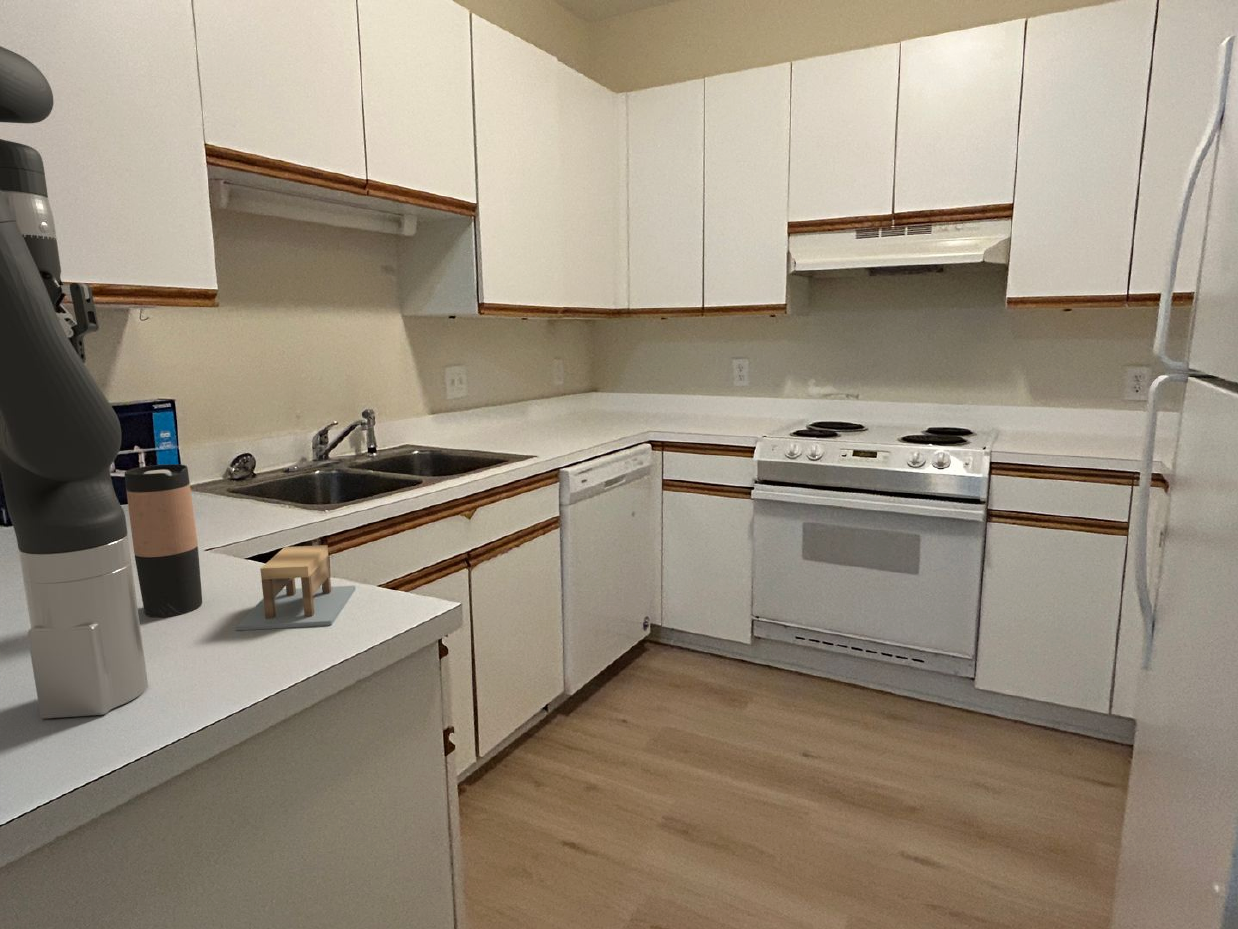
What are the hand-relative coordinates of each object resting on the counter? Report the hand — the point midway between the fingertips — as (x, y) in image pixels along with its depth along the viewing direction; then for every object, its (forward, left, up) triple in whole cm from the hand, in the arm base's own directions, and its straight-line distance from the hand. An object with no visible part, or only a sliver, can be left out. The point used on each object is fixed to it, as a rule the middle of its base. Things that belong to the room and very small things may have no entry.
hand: (38, 368), depth 95 cm
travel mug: (+5, -10, -34) cm, 36 cm away
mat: (+2, -28, -34) cm, 44 cm away
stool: (+2, -28, -34) cm, 44 cm away
